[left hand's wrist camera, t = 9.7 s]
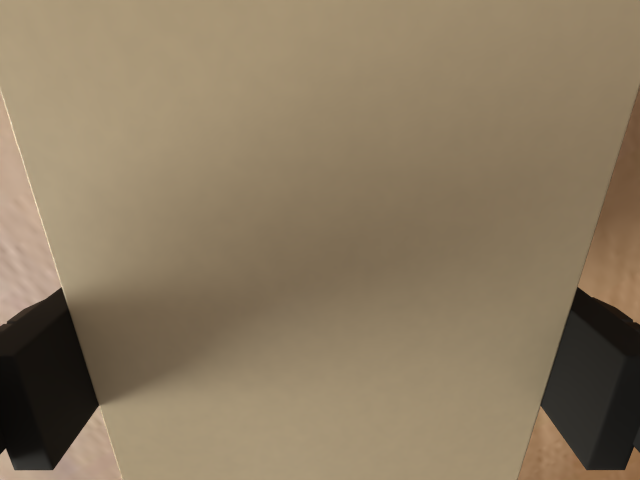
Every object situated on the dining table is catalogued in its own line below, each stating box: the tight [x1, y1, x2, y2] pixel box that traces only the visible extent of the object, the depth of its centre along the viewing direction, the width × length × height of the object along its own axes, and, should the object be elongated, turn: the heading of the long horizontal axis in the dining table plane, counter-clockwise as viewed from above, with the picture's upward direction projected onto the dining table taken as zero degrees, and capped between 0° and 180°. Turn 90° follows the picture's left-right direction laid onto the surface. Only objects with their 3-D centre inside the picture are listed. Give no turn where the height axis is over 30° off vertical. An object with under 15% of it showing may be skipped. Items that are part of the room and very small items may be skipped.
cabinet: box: [0, 0, 640, 480], centre depth 10 cm, size 21×10×10 cm, turn 0°
